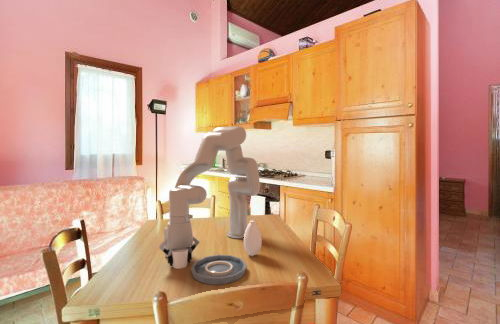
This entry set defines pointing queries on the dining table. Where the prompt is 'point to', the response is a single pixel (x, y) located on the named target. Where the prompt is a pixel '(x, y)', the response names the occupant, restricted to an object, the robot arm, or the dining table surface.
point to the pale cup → (179, 257)
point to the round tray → (218, 269)
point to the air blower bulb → (252, 238)
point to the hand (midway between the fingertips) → (179, 262)
